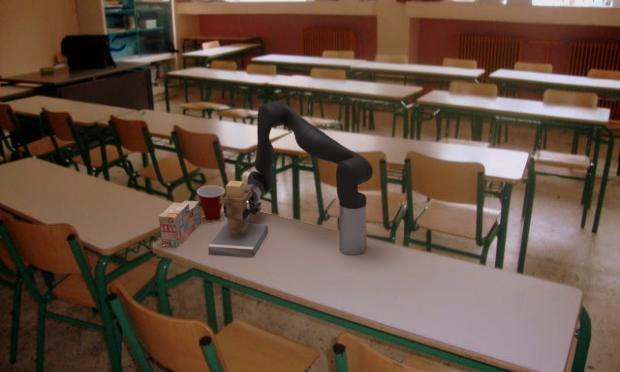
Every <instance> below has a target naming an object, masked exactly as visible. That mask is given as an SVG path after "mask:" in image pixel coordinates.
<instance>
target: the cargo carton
mask: <svg viewBox="0 0 620 372" xmlns="http://www.w3.org/2000/svg"><path fill="white" fill-rule="evenodd" d="M244 187H245V181H243V180H241V181H239V180H229V181H228V183H227V184H226V185H225V191H226V195H227V198H239V199H242V198H243V196H244V195H245V189H244Z"/></svg>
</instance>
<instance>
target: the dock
mask: <svg viewBox="0 0 620 372" xmlns="http://www.w3.org/2000/svg"><path fill="white" fill-rule="evenodd" d="M268 232H269V229H268V224H264V223H261V224H259V223H248V228H247V229H246V231H245V232H244V234H242V233H229V231H228V221H226V222H225V224H224V225H223V226H222V228H221V229H220V231H219V232H218V233H217V234H216V236H215V237H214V238H213V239H212V241H211V242H210V243H209V244H208V245H207V246H208V255H217V256H230V257H242V258H244V257H245V258H254V257H255V255H256V254H257V252H258V250H259V248H260V247H261V245H262V243H263V241H264V240H265V238H266V236H267V234H268Z"/></svg>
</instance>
